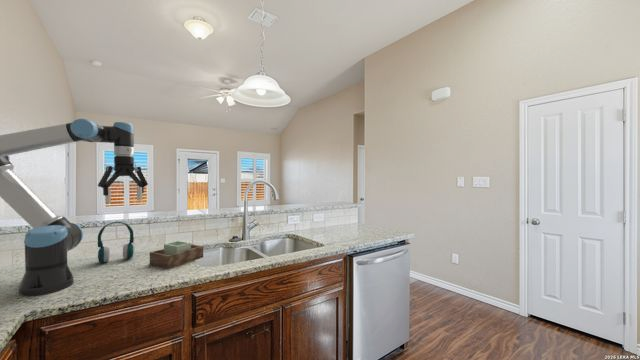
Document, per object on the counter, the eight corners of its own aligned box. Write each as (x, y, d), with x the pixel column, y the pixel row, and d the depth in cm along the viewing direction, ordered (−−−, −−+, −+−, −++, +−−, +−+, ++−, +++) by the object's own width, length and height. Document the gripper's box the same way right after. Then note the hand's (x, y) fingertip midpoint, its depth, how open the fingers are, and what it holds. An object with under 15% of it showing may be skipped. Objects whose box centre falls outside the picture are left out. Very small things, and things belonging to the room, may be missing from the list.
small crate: (177, 262, 135) (176, 246, 134) (163, 259, 139) (163, 244, 139) (191, 258, 142) (190, 242, 142) (178, 255, 146) (178, 240, 146)
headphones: (98, 261, 139) (98, 222, 139) (133, 256, 148) (133, 219, 147) (96, 265, 133) (96, 224, 132) (133, 260, 141) (133, 221, 141)
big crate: (168, 268, 128) (168, 256, 128) (149, 264, 135) (149, 252, 134) (203, 257, 146) (203, 246, 146) (185, 253, 153) (185, 243, 152)
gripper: (97, 154, 114) (97, 204, 115) (155, 157, 137) (155, 199, 137) (87, 154, 118) (88, 203, 118) (146, 157, 140) (146, 199, 140)
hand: (124, 201), depth 128 cm, fingers open, 13 cm apart
